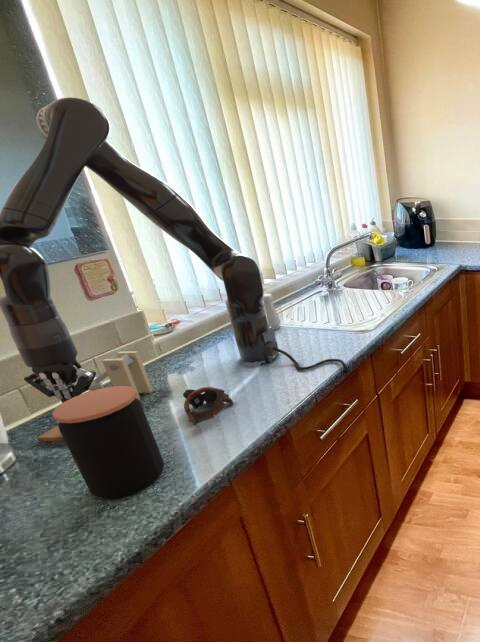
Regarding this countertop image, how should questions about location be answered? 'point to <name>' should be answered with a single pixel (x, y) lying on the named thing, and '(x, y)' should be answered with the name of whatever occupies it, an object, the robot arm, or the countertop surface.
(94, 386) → the lever
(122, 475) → the coffee jar
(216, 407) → the brown hollow shell
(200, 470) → the countertop surface
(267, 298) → the salt shaker
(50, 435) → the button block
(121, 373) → the bracket
